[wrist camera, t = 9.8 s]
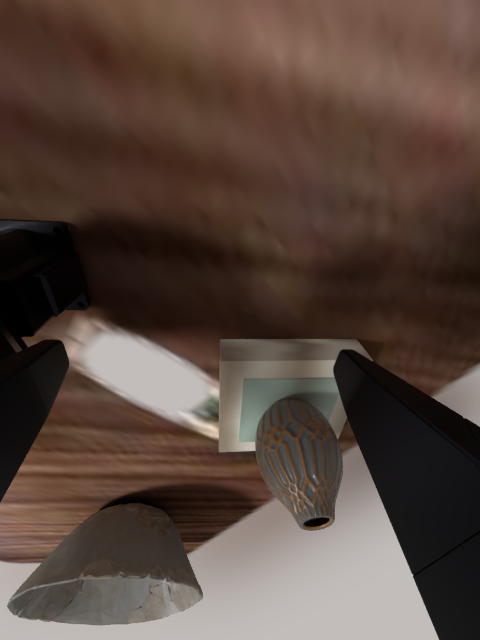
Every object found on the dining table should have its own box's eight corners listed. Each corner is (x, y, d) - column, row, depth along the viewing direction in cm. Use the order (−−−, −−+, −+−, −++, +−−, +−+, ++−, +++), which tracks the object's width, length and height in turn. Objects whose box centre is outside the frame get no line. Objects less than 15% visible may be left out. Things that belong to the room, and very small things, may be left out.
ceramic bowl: (35, 528, 40) (-13, 625, 32) (88, 459, 31) (40, 569, 23) (161, 547, 48) (149, 628, 40) (231, 497, 40) (235, 588, 31)
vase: (335, 411, 25) (385, 519, 17) (279, 442, 27) (302, 550, 19) (295, 375, 21) (337, 488, 14) (236, 413, 24) (244, 528, 16)
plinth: (218, 427, 30) (219, 453, 27) (220, 339, 23) (220, 362, 20) (324, 423, 31) (334, 449, 28) (356, 339, 24) (373, 361, 21)
